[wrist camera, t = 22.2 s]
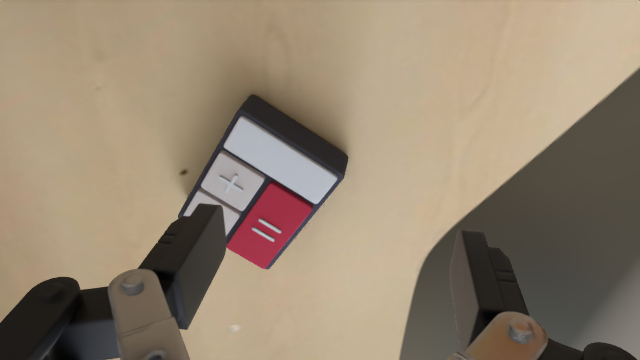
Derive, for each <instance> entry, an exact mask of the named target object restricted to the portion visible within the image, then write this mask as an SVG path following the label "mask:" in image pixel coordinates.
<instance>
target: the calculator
mask: <svg viewBox="0 0 640 360" xmlns="http://www.w3.org/2000/svg"><path fill="white" fill-rule="evenodd" d="M347 162H348V156H347V155H346V154H344V153H343V152H341V151H340V150H338V149H337V148H335V147H333V146H332V145H330V144H329V143H327V142H326V141H324V140H323V139H321V138H320V137H318V136H317V135H315V134H313V133H312V132H310V131H309V130H307V129H306V128H304V127H303V126H301V125H300V124H298V123H296V122H295V121H293V120H292V119H290V118H289V117H287V116H286V115H284V114H283V113H281V112H280V111H278V110H276V109H275V108H273V107H272V106H270V105H269V104H267V103H266V102H264V101H263V100H261V99H260V98H258V97H256V96H254V95H251V96H249V97H248V99H247V100H246V101H245V102H244V103H243V105H242V106H241V107H240V108H239V110H238V111H237V113H236V114H235V116H234V118H233V120H232V121H231V123H230V125H229V127H228V128H227V130H226V132H225V134H224V135H223V137H222V139H221V141H220V142H219V144H218V146H217V148H216V149H215V151H214V153H213V155H212V156H211V158H210V160H209V162H208V163H207V165H206V167H205V169H204V170H203V172H202V174H201V176H200V177H199V179H198V181H197V183H196V185H195V186H194V188H193V190H192V192H191V193H190V195H189V197H188V199H187V200H186V202H185V204H184V206H183V207H182V209H181V211H180V213H179V214H178V218H180V217H182V216H190V215H191V214H192V212H193V211H194V210H195V208H196V207H197V205H198V204H199V203H204V204H215V205H221V206H222V207H223V212H224V222H225V232H226V247H227V248H228V249H230V250H231V251H233V252H235V253H237V254H238V255H240V256H242V257H243V258H245V259H247V260H249V261H250V262H252V263H254V264H256V265H257V266H259V267H261V268H263V269H269V268H270V267H271V266H272V265H273V264H274V263H275V261H276V260H277V259H278V258H279V256H280V255H281V254H282V253H283V252H284V250H285V249H286V248H287V247H288V245H289V244H290V243H291V242H292V241H293V239H294V238H295V237H296V236H297V234H298V233H299V232H300V231H301V230H302V228H303V227H304V226H305V225H306V223H307V222H308V221H309V220H310V219H311V217H312V216H313V215H314V214H315V213H316V211H317V210H318V209H319V208H320V206H321V205H322V204H323V203H324V202H325V200H326V199H327V198H328V197H329V195H330V194H331V193H332V192H333V191H334V189H335V188H336V187H337V186H338V184H339V183H340V182H341V181H342V180H343V178H344V175H345V171H346V167H347Z"/></svg>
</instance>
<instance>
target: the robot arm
mask: <svg viewBox="0 0 640 360" xmlns="http://www.w3.org/2000/svg"><path fill="white" fill-rule="evenodd" d="M225 251H226V232H225V222H224V212H223V207H222V206H221V205H215V204H204V203H199V204H198V205H197V207H196V208H195V210H194V211H193V212H192V214H191V215H190V216H182V217H180V218H179V219H177V220H176V221H174V222H173V223H171V225H170V226H169V227H168V229H167V230H166V231H165V233H164V235H162V237H161V238H160V239H159V241H158V243H156V245H155V246H154V247H153V249H152V250H151V251H150V253H149V254H148V255H147V257H146V258H145V259H144V261H143V262H142V263H141V265H140V266H139V267H138V269H133V270H129V271H126V272H124V273H122V274H120V275H118V276H117V277H116V278H114V279H113V280H112V281H111V283H110V284H109V286H108V287H101V288H93V289H85V290H80V287H79V284H78V282H77V281H76V280H75V279H73V278H70V277H57V278H52V279H49V280H46V281H44V282H42V283H40V284H38V285H36V286H35V287H33V288H32V289H31V290H30V291H29V292H28V293H27V294H26V295H25V296H24V297H23V299H22V300H21V301H20V302H19V303H18V304H17V305H16V306H15V307H14V308H13V310H12V311H11V312H10V313H9V314H8V315H7V316H6V317H5V318H4V319H3V321H2V322H1V323H0V360H106V359H113V358H119V357H120V360H190V358H189V355H188V353H187V350H186V347H185V344H184V342H183V339H182V336H181V333H180V331H179V329H185V330H187V329H188V327H189V325H190V323H191V321H192V319H193V317H194V315H195V313H196V311H197V309H198V307H199V306H200V304H201V302H202V300H203V298H204V296H205V294H206V292H207V290H208V288H209V286H210V284H211V282H212V280H213V278H214V276H215V274H216V272H217V270H218V268H219V266H220V264H221V262H222V260H223V258H224V255H225ZM449 283H450V290H451V296H452V302H453V308H454V314H455V320H456V327H457V333H458V339H459V345H460V351H461V354H460V353H459V352H455V353H453V354H452V355H451V356H450V357H449V358H448V359H447V360H637V359H636V358H635V357H634V356H632V355H631V354H630V353H628V352H626V351H625V350H623V349H621V348H619V347H617V346H614V345H611V344H607V343H601V342H597V343H591V344H589V345H587V346H586V347H585V349H584V351H583V352H582V351H579V350H576V349H574V348H571V347H568V346H565V345H562V344H560V343H558V342H555V341H553V340H552V339H550V338H548V335H547V333H546V331H545V329H544V328H543V327H542V326H541V325H540V324H539V323H538V322H537V321H536V320H534V319H533V318H531V317H530V316H529V313H528V310H527V308H526V305H525V302H524V299H523V296H522V294H521V291H520V288H519V285H518V283H517V280H516V277H515V274H514V273H513V269H512V266H511V263H510V260H509V259H508V258H507V256H506V255H505V254H504V253H503V252H502V251H501V250H500V249H499V248H491V247H488V245H487V242H486V238H485V235H484V232H483V231H475V230H465V229H459V230H458V233H457V237H456V242H455V246H454V250H453V255H452V260H451V264H450V272H449Z"/></svg>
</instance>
